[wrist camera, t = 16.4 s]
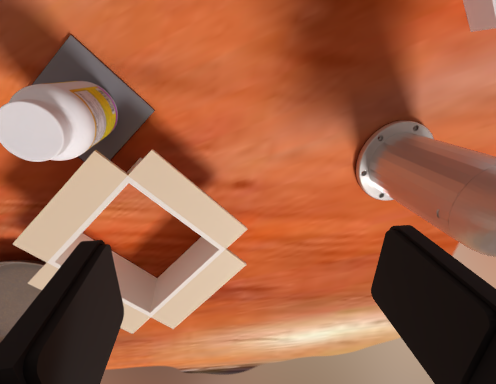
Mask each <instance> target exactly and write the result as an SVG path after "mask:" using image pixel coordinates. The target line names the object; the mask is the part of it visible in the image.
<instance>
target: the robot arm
mask: <svg viewBox="0 0 496 384" xmlns="http://www.w3.org/2000/svg"><path fill="white" fill-rule="evenodd" d="M356 176H357V180H358V183H359V185H360V187H361V188H362V190H364V191H365V192H366V193H367V194H368V195H370V196H371V197H373V198H375V199H378V200H396V201H397V202H399V203H400V204H402V205H403V206H405V207H406V208H408V209H409V210H411V211H412V212H414V213H415V214H417V215H418V216H420V217H422V218H423V219H425V220H426V221H428V222H429V223H431V224H432V225H434V226H435V227H437V228H438V229H440V230H441V231H443V232H444V233H446V234H448V235H449V236H451V237H452V238H454V239H455V240H457V241H458V242H460V243H462V244H463V245H465V246H466V247H468V248H470V249H472V250H474V251H476V252H479V253H481V254H484V255H488V256H493V257H496V157H494V156H491V155H487V154H484V153H480V152H477V151H473V150H470V149H466V148H463V147H459V146H456V145H452V144H449V143H445V142H442V141H438V140H434V138H433V136H432V134H431V132H430V131H429V130H428V129H427V128H426V127H425V126H424V125H422V124H419V123H417V122H413V121H396V122H393V123H390V124H387V125H385V126H384V127H382V128H380V129H379V130H378V131H376V132H375V133H374V134H373V135H372V136H371V137H370V138H369V139H368V140H367V142H366V143H365V145H364V146H363V148H362V150H361V152H360V154H359V156H358V160H357V165H356ZM371 293H372V297H373V299H374V300H375V302H376V303H377V305H378V306H379V307H380V309H381V310H382V311H383V313H384V314H385V316H386V317H387V318H388V320H389V321H390V322H391V324H392V325H393V327H394V328H395V329H396V331H397V332H398V334H399V335H400V336H401V338H402V339H403V340H404V342H405V343H406V345H407V346H408V347H409V349H410V350H411V351H412V353H413V354H414V356H415V357H416V358H417V360H418V361H419V363H420V364H421V365H422V367H423V368H424V369H425V371H426V372H427V374H428V375H429V376H430V378H431V379H432V380H433V382H434V383H435V384H496V289H495V288H494V287H492V286H491V285H490V284H488V283H487V282H486V281H484V280H483V279H482V278H480V277H479V276H478V275H476V274H475V273H474V272H472V271H471V270H469V269H468V268H467V267H465V266H464V265H463V264H462V263H460V262H459V261H458V260H456V259H455V258H454V257H452V256H451V255H450V254H448V253H447V252H446V251H444V250H443V249H442V248H440V247H439V246H438V245H436V244H435V243H434V242H432V241H431V240H430V239H428V238H427V237H426V236H424V235H423V234H422V233H420V232H419V231H418V230H416V229H415V228H414V227H412V226H410V225H403V226H393V227H391V228H390V230H389V231H387V232H386V234H385V238H384V242H383V246H382V250H381V253H380V257H379V261H378V265H377V269H376V273H375V276H374V280H373V284H372V288H371ZM123 317H124V306H123V301H122V297H121V292H120V288H119V283H118V278H117V274H116V269H115V264H114V260H113V255H112V251H111V247H110V245H108V244H107V245H105V243H104V242H103V241H102V240H94V241H81V242H80V243H79V244H78V245H77V247H76V248H75V249H74V250H73V252H72V253H71V254H70V255H69V257H68V258H67V259H66V261H65V262H64V263H63V264H62V266H61V267H60V268H59V269H58V271H57V272H56V273H55V274H54V276H53V277H52V278H51V280H50V281H49V282H48V283H47V285H46V286H45V287H44V288H43V290H42V291H41V292H40V293H39V295H38V296H37V297H36V298H35V300H34V301H33V302H32V303H31V305H30V306H29V307H28V308H27V310H26V311H25V312H24V314H23V315H22V316H21V317H20V319H19V320H18V321H17V322H16V324H15V325H14V326H13V327H12V329H11V330H10V331H9V332H8V334H7V335H6V336H5V338H4V339H3V340H2V341H1V343H0V384H100V382H101V379H102V376H103V374H104V371H105V368H106V365H107V363H108V360H109V357H110V354H111V352H112V349H113V346H114V343H115V341H116V338H117V335H118V332H119V329H120V327H121V324H122V321H123Z"/></svg>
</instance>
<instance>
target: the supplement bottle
mask: <svg viewBox="0 0 496 384" xmlns="http://www.w3.org/2000/svg"><path fill="white" fill-rule="evenodd" d="M117 121H118V111H117V107H116V104H115V102H114V100H113V99H112V97H111V96H110V95H109V94H108V92H106V91H105V90H104V89H103V88H101V87H100V86H98V85H96V84H94V83H91V82H87V81H70V82H59V83H46V84H36V85H30V86H27V87H25V88H22V89H21V90H19V91H18V92H16V93H15V94H14V95H13V97H12V98H11V99H10V101H9V103H7V104H5V105H3V106H2V107H1V108H0V142H1V144H2V145H3V146H4V147H5V148H6V149H7V150H8V151H9V152H11V153H12V154H14V155H15V156H17V157H19V158H22V159H24V160H28V161H34V162H42V161H47V160H57V161H63V160H69V159H73V158H76V157H78V156H80V155H81V154H83V153H84V152H86V151H87V150H88V149H90V148H91V147H92V146H94V145H95V144H97V143H98V142H99V141H101V140H102V139H104V138H105V137H106V136H108V135H109V134H110V133H111V132H112V131H113V130H114V128H115V127H116V124H117Z"/></svg>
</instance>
